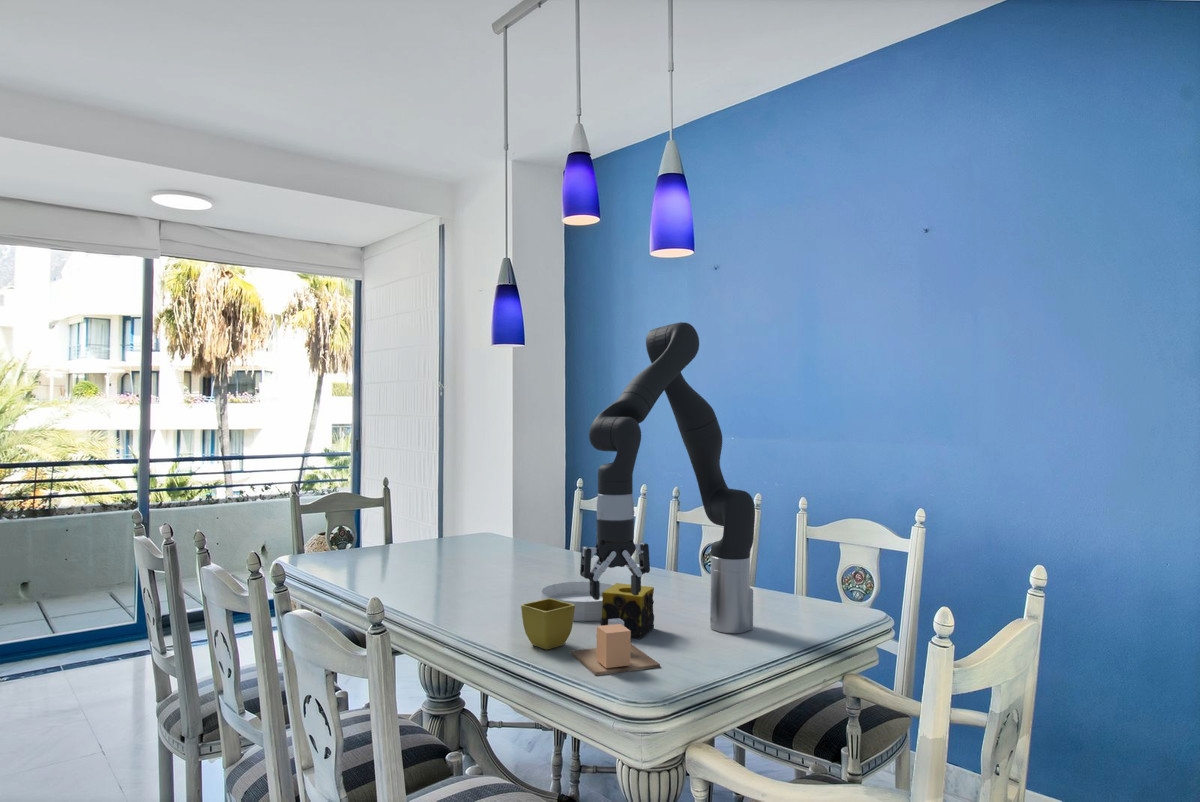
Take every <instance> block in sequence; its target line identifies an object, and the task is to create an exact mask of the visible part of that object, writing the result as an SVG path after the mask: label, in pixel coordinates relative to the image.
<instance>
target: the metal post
mask: <svg viewBox="0 0 1200 802" xmlns="http://www.w3.org/2000/svg"><path fill="white" fill-rule="evenodd" d="M614 624H621V625H623V626H624V621H623V620H621V619H620V618H616V619H608V625H614Z"/></svg>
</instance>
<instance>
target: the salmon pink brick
mask: <svg viewBox="0 0 1200 802" xmlns="http://www.w3.org/2000/svg"><path fill="white" fill-rule="evenodd" d="M631 639H632V638H631V631H630V630H629V629H627V628H626V627H624V626H623V625H621V624H614V625H604V626H601V625H596V648H597V653H596V660H597V661H598V662H599V663H601V664H602V665H603V666H604V667H605V668H612V667H620V666H628V665H630V651H631V644H632V643H631Z"/></svg>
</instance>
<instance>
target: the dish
mask: <svg viewBox="0 0 1200 802" xmlns="http://www.w3.org/2000/svg"><path fill="white" fill-rule="evenodd" d="M613 585H614V584H610V583H605V582H600V598H599V600H595V599H593V597H592V596H591V595H590V581H568V582H559V583H555V584H551V585H547V586H545V587H544V588H542V590H541V593H540V594H541V599H540V600H544V599H549V598H550V599H555V600H558V601H562V602H566V603H570V604H574V605H575V610H574V618H573V622H592V621H593V622H595V621H601V618H602V605H603V603H602V600H603V598H602V592H604V591H605V590H607V589H608V588H610V587H611V586H613Z"/></svg>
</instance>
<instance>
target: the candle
mask: <svg viewBox="0 0 1200 802" xmlns="http://www.w3.org/2000/svg"><path fill="white" fill-rule="evenodd" d="M612 585H613V586H611V587H610V588H608V589H607V590H605V591H604V592H602V598H603V600H602V603H603V605H602V618H601V620H600V621H601V622H600V626H604V625H608V619H616V618H620V619H621V620H623V621H624V627H626V628H627V629H629V630H630V631H631V639H635V640H642V639H643V638H645V636H646V635H647V634H648V633H650V631H652V630H653V629H654V628H655V624H654V622H655V614H654V603H655V601H654V592H655V591H654V590H655V587H653V586H647V585H641V591H640V592H639V595H633V594H632V593H631V584H628V583H619V582H616V583H614V584H612Z"/></svg>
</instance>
